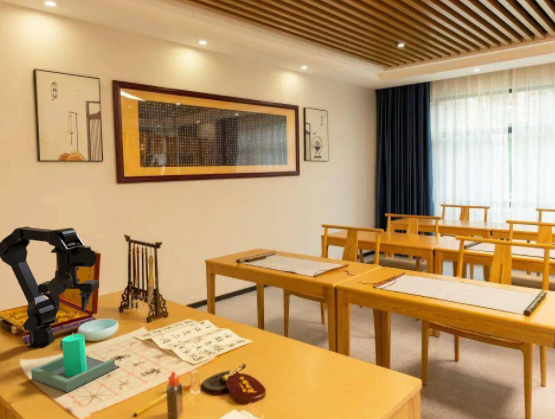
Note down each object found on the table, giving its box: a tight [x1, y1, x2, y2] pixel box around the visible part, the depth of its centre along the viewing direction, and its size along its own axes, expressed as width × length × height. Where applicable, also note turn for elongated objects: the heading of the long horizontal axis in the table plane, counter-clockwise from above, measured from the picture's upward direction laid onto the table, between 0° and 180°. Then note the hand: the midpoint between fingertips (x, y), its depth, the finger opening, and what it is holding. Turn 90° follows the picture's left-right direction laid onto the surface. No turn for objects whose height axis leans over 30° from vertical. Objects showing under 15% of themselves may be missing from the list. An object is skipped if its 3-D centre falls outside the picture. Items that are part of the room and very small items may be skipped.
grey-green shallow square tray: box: [30, 355, 120, 394], centre depth 128 cm, size 17×17×3 cm
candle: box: [61, 333, 87, 376], centre depth 128 cm, size 6×6×12 cm
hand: (70, 311), depth 146 cm, fingers open, 9 cm apart
